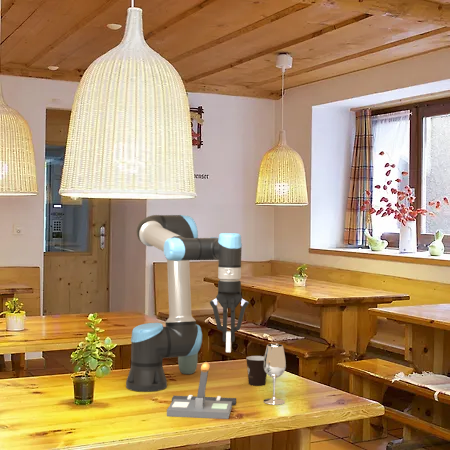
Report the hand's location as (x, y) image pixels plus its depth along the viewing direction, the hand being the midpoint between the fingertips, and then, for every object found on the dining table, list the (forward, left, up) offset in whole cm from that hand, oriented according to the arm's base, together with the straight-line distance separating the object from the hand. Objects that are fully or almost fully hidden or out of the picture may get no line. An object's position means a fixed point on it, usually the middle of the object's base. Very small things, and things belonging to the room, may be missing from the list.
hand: (228, 351), depth 248 cm
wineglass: (+15, +16, -21) cm, 30 cm away
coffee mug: (+8, +43, -21) cm, 49 cm away
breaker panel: (-9, 0, -20) cm, 22 cm away
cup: (-21, +55, -21) cm, 63 cm away
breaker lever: (-9, 0, -16) cm, 19 cm away
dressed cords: (-9, +11, -20) cm, 25 cm away
